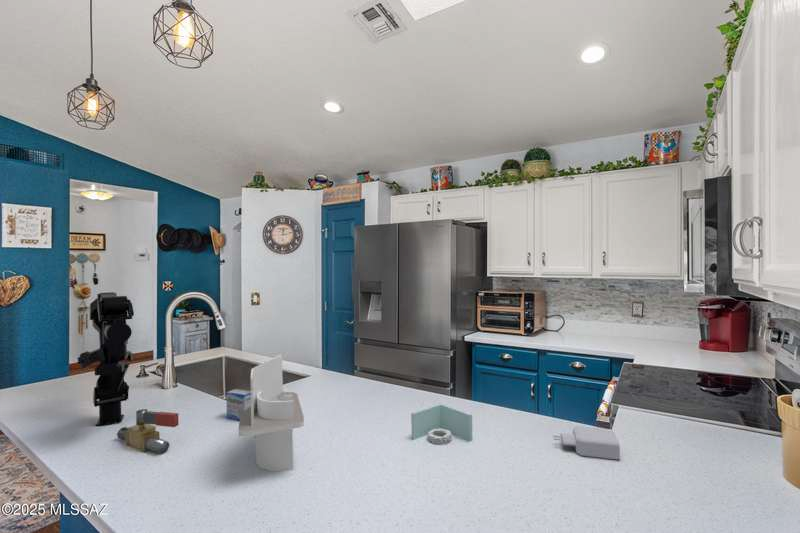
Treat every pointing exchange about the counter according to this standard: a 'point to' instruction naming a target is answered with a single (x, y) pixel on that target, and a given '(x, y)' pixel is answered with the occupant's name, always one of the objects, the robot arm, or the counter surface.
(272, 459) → the architectural model
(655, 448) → the counter surface
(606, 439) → the charger
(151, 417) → the lever
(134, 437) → the valve
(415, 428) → the l-shaped corner panel
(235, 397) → the medicine box
